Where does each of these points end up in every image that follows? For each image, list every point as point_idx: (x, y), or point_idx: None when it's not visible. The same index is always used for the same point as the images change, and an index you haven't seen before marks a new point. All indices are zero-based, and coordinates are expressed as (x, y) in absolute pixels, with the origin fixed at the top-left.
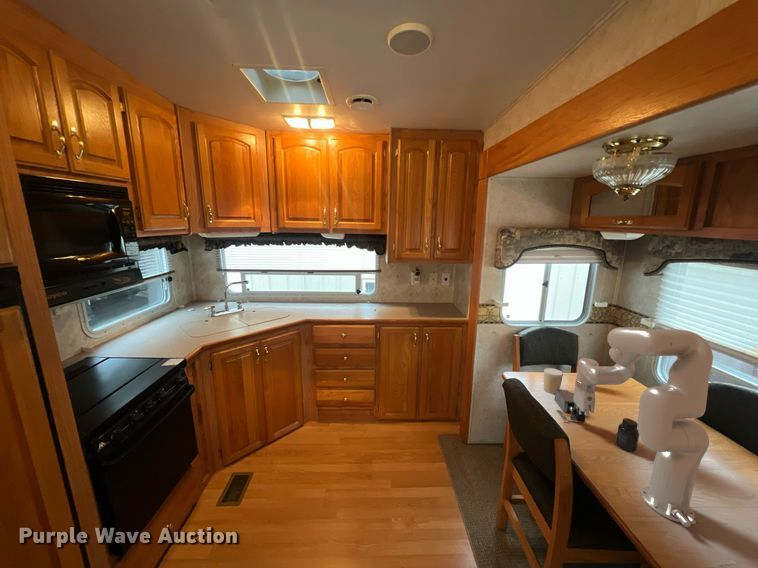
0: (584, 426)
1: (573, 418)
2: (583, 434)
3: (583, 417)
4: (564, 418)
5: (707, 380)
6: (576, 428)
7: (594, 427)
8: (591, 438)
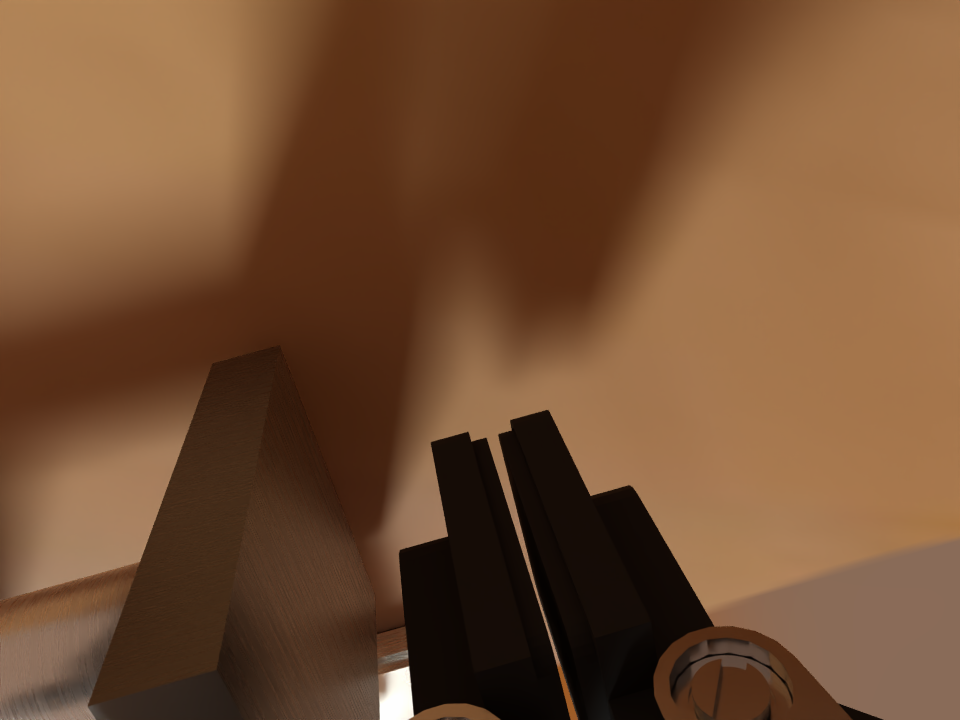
0: (450, 298)
1: (361, 598)
2: (819, 371)
3: (688, 599)
4: (384, 710)
5: None
6: (624, 479)
7: (366, 10)
8: (938, 225)
